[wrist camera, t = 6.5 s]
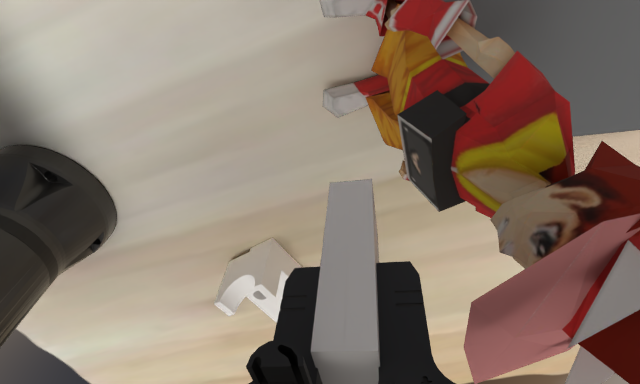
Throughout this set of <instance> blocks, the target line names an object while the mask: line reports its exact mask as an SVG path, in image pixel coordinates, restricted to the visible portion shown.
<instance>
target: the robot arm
mask: <svg viewBox="0 0 640 384" xmlns="http://www.w3.org/2000/svg"><path fill="white" fill-rule="evenodd" d="M115 225H116V211H115V207H114V205H113V202H112V200H111V198H110V196H109V195H108V193H107V191H106V190H105V189H104V187H103V186H102V185H101V184H100V183H99V182H98V181H97V179H96V178H94V177H93V176H92V175H91V174H90V173H89V172H88V171H86V170H85V169H84V168H83V167H81V166H80V165H78V164H77V163H75V162H73V161H72V160H70V159H68V158H66V157H64V156H62V155H60V154H58V153H55V152H53V151H50V150H47V149H44V148H40V147H35V146H28V145H14V146H8V147H4V148H2V149H0V347H1V346H2V345H3V344H4V342H5V341H6V340H7V339H8V337H9V336H10V335H11V334H12V332H13V331H14V330H15V329H16V327H17V326H18V325H19V324H20V322H21V321H22V320H23V319H24V317H25V316H26V315H27V314H28V312H29V311H30V310H31V309H32V307H33V306H34V305H35V304H36V302H37V301H38V300H39V298H40V297H41V296H42V295H43V293H44V292H45V291H46V290H47V288H48V287H49V286H50V285H51V284H52V282H53V281H54V280H55V279H56V278H57V276H58V275H59V274H61V273H63V272H64V271H66V270H67V269H69V268H70V267H72V266H73V265H75V264H77V263H78V262H80V261H81V260H83V259H84V258H86V257H87V256H89V255H91V254H92V253H94V252H95V251H97V250H98V249H99V248H100V247H101V246H102V245H103V244H104V243H105V241H106V240H107V239H108V238H109V236H110V235H111V234H112V232H113V230H114V228H115ZM282 297H283V299H282V300H281V305H280V311H279V315H278V320H277V325H276V330H275V335H274V340H273V341H270V342H267V343H266V344H264V345H262V346H260V347H259V348H258V349H257V350H256V351H255V352H254V353H253V354H252V355H251V357H250V359H249V361H248V364H247V366H246V368H247V370H248V372H249V373H250V375H251V377H252V379H253V381H252V382H251V383H249V384H455V383H453V382H452V381H450V380H449V379H448V378H446V377H445V376H444V375H443V374H442V373H441V372H440V371H439V369H438V368H437V366H436V364H435V363H434V360H433V357H432V353H431V347H430V340H429V334H428V328H427V321H426V315H425V308H424V302H423V296H422V289H421V283H420V277H419V274H418V272H417V271H416V269H415V268H414V267H413V265H412V264H411V262H410V261H408V262H387V263H379V253H378V234H377V224H376V215H375V205H374V196H373V186H372V179H367V180H355V181H344V182H332V183H330V187H329V196H328V205H327V213H326V222H325V231H324V239H323V248H322V257H321V265H320V267H305V268H294V269H293V271H292V272H291V274H290V275H289V277H288V278H287V280H286V281H285V286H284V291H283V296H282Z"/></svg>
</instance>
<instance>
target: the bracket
mask: <svg viewBox="0 0 640 384" xmlns="http://www.w3.org/2000/svg"><path fill="white" fill-rule="evenodd" d="M294 268H302V267H301V266H300V265H299V264H298V263H297V262H296V261H295V260H294V259H293V258H292V257H291V256H290V255H289V254H288V253H287V252H286V251H285V250H284V248H283V247H282V246H281V245H280V244H279V243H278V242H277V241H276V240H275V239H274V238H271V239H268V240H266V241H264V242H262V243H260V244H258V245H256V246H254V247H252V248H251V249H250V252H248V253H246V254H244V255H242V256H240V257H238V258H235V259H233V260H231V261H229V263H228V266H227V269H226V272H225V274H224V277H223V280H222V283H221V285H220V288H219V291H218V294H217V297H216V299H215V302H214V305H216V306H217V307H218V308H219V309H221V310H222V311H223V312H224V313H226V314H227V315H228V316H231V315H234V314H235V312H236V310H237V308H238V306H239V304H240V303H241V302H242V300H243V299H244V298H245V297H247V298H248V299H249V300H251V301H252V302H253V303H254V304H255V305H256V306H258V307H259V308H260V309H261V310H262V311H263V312H264V313H266V314H267V315H268V316H269V317H270V318H271V319H273V320H274V321H275V322H276V323H277V320H278V315H279V311H280V305H281V300H282V299H283V297H282V296H283V291H284V286H285V281H286V280H287V278H288V277H289V275H290V274H291V272H292V271H293V269H294Z"/></svg>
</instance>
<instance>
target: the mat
mask: <svg viewBox="0 0 640 384" xmlns="http://www.w3.org/2000/svg"><path fill="white" fill-rule="evenodd" d="M442 1H444V2H453V1H462V0H442ZM470 1H471V3H472V6H473V8H474V10H475V12H476V15H477V20H476V25H475V29H476V30H477V31H479V32H480V33H482V34H483V35H484V36H486V37H487V38H489V39H491V38H495V37H500V38H501V39H502V40H503V41H504V42H506V43H507V44H508V45H509V46H510V47H511V48H512V50H513V51H514V52H515V53H516V51H519V52H520V53H521V54H522V55H523V56H524V57H525V58H526V59H527V60H528V61H530V62H531V63H532V64H533V65H534V66H535V67H536V68H537V69H538V70H540V71H541V72H542V73H543V75H544V76H545V77H546V79H547V80H548V82H549V83H550V85H551V86H552V87H553V89H554V90H555V91H556V92H557V93H559V94H560V95H561V96H563V97H564V98H565V99H566V100H568V101H569V102H570V111H571V124H572V137H573V136H583V135H593V134H603V133H613V132H623V131H633V130H640V0H470ZM460 54H461V56H462V58H463V60H464V62H465V63H466V65H467V67H468V68H469V69H470V70H472V71H473V72H475V73H476V74H477V75H479V76H480V77H481V78H483V79H484V80H485V81H487V82H488V83H489V84H491V82H492V81H493V80H494V78H493V77H491V76H490V75H489V74H488V73H487V72H486V71H485V70H484V69H482V68H481V67H480V66H479V65H478V64H477V63H476V62H475V61H474V60H473V59H472V58H471V57H470V56H469V55H467V54H466V53H465V52H464V51H461V52H460Z"/></svg>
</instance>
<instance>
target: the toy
mask: <svg viewBox="0 0 640 384" xmlns="http://www.w3.org/2000/svg"><path fill="white" fill-rule="evenodd" d="M320 4H321V8H322V11H323V15H324V17H346V16H361V15H366V16H369V17H371V18H374V19H376V23H377V26H378V30H379V35H380V36H385V37H384V39H383V42H382V44H381V47H380V49H379V52H378V55H377V57H376V60H375V62H374V65H373V67H372V70H371V71H373V72H375V73H377V74H379V75H377V76H374V77H370V78H367V79H364V80H360V81H357V82H354V83H350V84H346V85H342V86H338V87H333V88H329V89H325V90H324V92H323V107H324V108H326V109H327V110H328V111H330V112H331V113H332V114H334V115H335V116H336V117H337V118H339V117H341V116H344V115H346V114H348V113H351V112H353V111H356V110H358V109H360V108H363V107H365V106H367V105H369V107H370V110H371V112H372V114H373V117H374V119H375V122H376V124H377V126H378V129H379V131H380V133H381V136H382V138H383V140H384V142H385V144H387V145H389V146H392V147H395V148H398V149H401V150H403V153H404V159H405V161H403V162H402V166H401V170H399V172H400V174H401V176H402V178H403V179H405V180H408V181H411V182H412V184H413V185H414V186H415V187H416V188H417V189H418V190H419V191H420V192H421V193H422V194H423V195H424V196H425V197H426V198H427V199H428V201H429V202H430V203H431V204H432V205H433V206H434V207H435V208H436V209H437V210H438V211H439V212H440V211H442V210H445V209H447V208H450V207H452V206H455V205H457V204H460V203H462V202H465V201H467V202H469V203H470V204H472V205H474V206H476V211H477V212H480V213H482V214H484V215H486V216H488V217H490V218H491V221H492V223H493V224H494V226H495V228H496V229H497V232H498V238H499V249H500V253H503V254H506V255H509V256H512V257H513V258H514V260H515V261H517V262H518V263H519V264H520V265H521V266H523V267H524V268H525V270H523V271H522V272H520V273H518V274H517V275H515V276H513V277H512V278H510V279H509V280H507V281H505V282H504V283H502V284H500V285H499V286H497V287H495V288H494V289H492V290H491V291H489V292H487V293H486V294H484V295H482V296H481V297H479V298H478V299H476V300H474V301H473V302H471V308H470V313H469V319H468V325H467V331H466V337H465V342H464V350H465V353H466V357H467V360H468V364H469V367H470V370H471V374H472V377H473V380H474V383H475V384H476V383H479V382H482V381H485V380H488V379H490V378H493V377H496V376H499V375H502V374H504V373H507V372H510V371H513V370H515V369H518V368H521V367H524V366H527V365H529V364H532V363H535V362H538V361H540V360H543V359H546V358H549V357H551V356H554V355H557V354H560V353H563V352H565V351H568V350H569V349H571V348H572V347H573V346H575V345H576V344H577V343H578V344H579V345H580V346H581V347H580V349H579V352H578V354H577V356H576V359H575V361H574V363H573V366H572V368H571V370H570V373H569V375H568V377H567V380H566V382H565V384H602V383H603V382H605V381H606V380H607V379H608V378H610V377H611V376H612V375H613V374H615V373H617V374H618V375H619V376H621V377H622V378H623V379H624V380H625V381H627V382H628V383H629V384H640V167H639V166H637V165H635V164H633V163H632V162H631V161H629V160H628V159H627V158H625V157H624V156H622V155H621V154H620V153H618V152H617V151H615V150H614V149H613V148H611V147H610V146H608V145H607V144H606V143H604V142H603V141H602V142H601V144H600V145H599V147H598V149H597V150H596V152H595V154H594V155H593V157H592V159H591V160H590V162H589V164H588V165H587V167H586V169H585V171H583V172H580V173H578V174H575V164H574V151H573V138H572V124H571V111H570V102H569V101H568V100H566V99H565V98H564V97H563V96H561V95H560V94H559V93H557V92H556V91H555V90H554V89H553V87H552V86H551V85H550V83H549V82H548V80H547V79H546V77H545V76H544V75H543V73H542V72H541V71H540V70H538V69H537V68H536V67H535V66H534V65H533V64H532V63H531V62H530V61H528V60H527V59H526V58H525V57H524V56H523V55H522V54H521V53H520V52H519V51H516V53H515V52H514V51H513V50H512V48H511V47H510V46H509V45H508V44H507V43H506V42H504V41H503V40H502V39H501V38H500V37H495V38H491V39H489V38H487V37H486V36H484V35H483V34H482V33H480V32H479V31H477V30H476V29H475V25H476V20H477V15H476V12H475V10H474V8H473V6H472V3H471V1H470V0H462V1H453V2H444V1H442V0H320ZM461 51H464V52H465V53H466V54H467V55H469V56H470V57H471V58H472V59H473V60H474V61H475V62H476V63H477V64H478V65H479V66H480V67H481V68H482V69H484V70H485V71H486V72H487V73H488V74H489V75H490V76H491V77H493V78H494V80H493V81H492V82H491V84H489V83H488V82H487V81H485V80H484V79H483V78H481V77H480V76H479V75H477V74H476V73H475V72H473V71H472V70H470V69H469V68H468V67H467V65H466V63H465V62H464V60H463V58H462V56H461V54H460V52H461ZM574 174H575V175H574Z"/></svg>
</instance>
